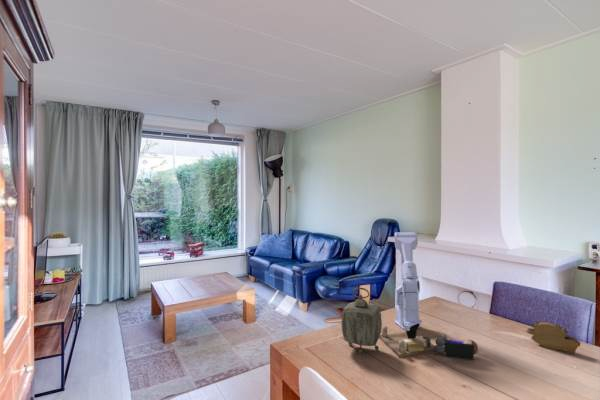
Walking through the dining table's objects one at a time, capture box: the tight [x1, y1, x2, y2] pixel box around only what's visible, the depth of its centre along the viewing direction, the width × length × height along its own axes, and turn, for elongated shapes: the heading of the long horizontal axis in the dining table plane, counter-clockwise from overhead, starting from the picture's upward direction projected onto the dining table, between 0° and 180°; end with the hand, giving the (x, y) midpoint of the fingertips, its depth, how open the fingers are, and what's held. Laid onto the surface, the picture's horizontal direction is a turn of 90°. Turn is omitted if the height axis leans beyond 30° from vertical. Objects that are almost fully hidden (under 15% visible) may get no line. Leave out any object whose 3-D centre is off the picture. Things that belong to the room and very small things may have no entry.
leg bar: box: [403, 335, 432, 350], centre depth 124 cm, size 11×3×3 cm, turn 103°
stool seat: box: [379, 325, 436, 358], centre depth 129 cm, size 17×17×5 cm
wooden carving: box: [525, 321, 581, 354], centre depth 123 cm, size 16×5×10 cm, turn 47°
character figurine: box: [434, 334, 479, 361], centre depth 119 cm, size 8×7×15 cm
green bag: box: [340, 287, 383, 354], centre depth 125 cm, size 14×9×25 cm, turn 65°
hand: (411, 341), depth 127 cm, fingers closed
